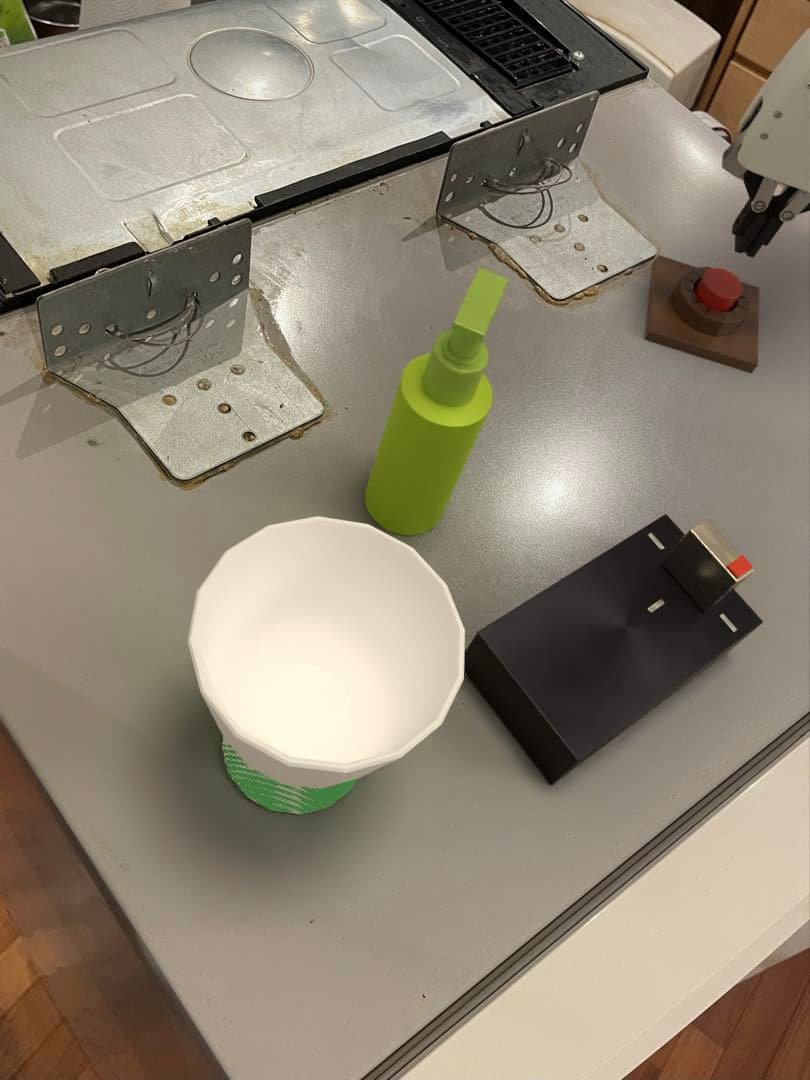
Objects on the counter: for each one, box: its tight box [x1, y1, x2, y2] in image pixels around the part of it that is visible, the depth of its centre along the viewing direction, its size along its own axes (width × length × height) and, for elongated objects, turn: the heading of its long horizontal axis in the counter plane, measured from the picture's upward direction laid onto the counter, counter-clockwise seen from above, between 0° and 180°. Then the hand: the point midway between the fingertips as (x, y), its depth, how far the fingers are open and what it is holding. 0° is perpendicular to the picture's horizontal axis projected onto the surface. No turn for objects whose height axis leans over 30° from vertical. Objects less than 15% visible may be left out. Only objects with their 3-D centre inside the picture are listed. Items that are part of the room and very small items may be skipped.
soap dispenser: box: [364, 266, 510, 537], centre depth 64 cm, size 6×7×20 cm
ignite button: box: [695, 267, 742, 312], centre depth 86 cm, size 4×4×2 cm
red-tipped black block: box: [662, 518, 755, 612], centre depth 66 cm, size 4×2×5 cm, turn 36°
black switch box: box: [464, 513, 764, 786], centre depth 67 cm, size 20×10×5 cm, turn 127°
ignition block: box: [644, 254, 760, 374], centre depth 88 cm, size 10×10×3 cm
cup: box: [187, 515, 466, 815], centre depth 55 cm, size 14×14×16 cm
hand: (743, 243), depth 82 cm, fingers closed
